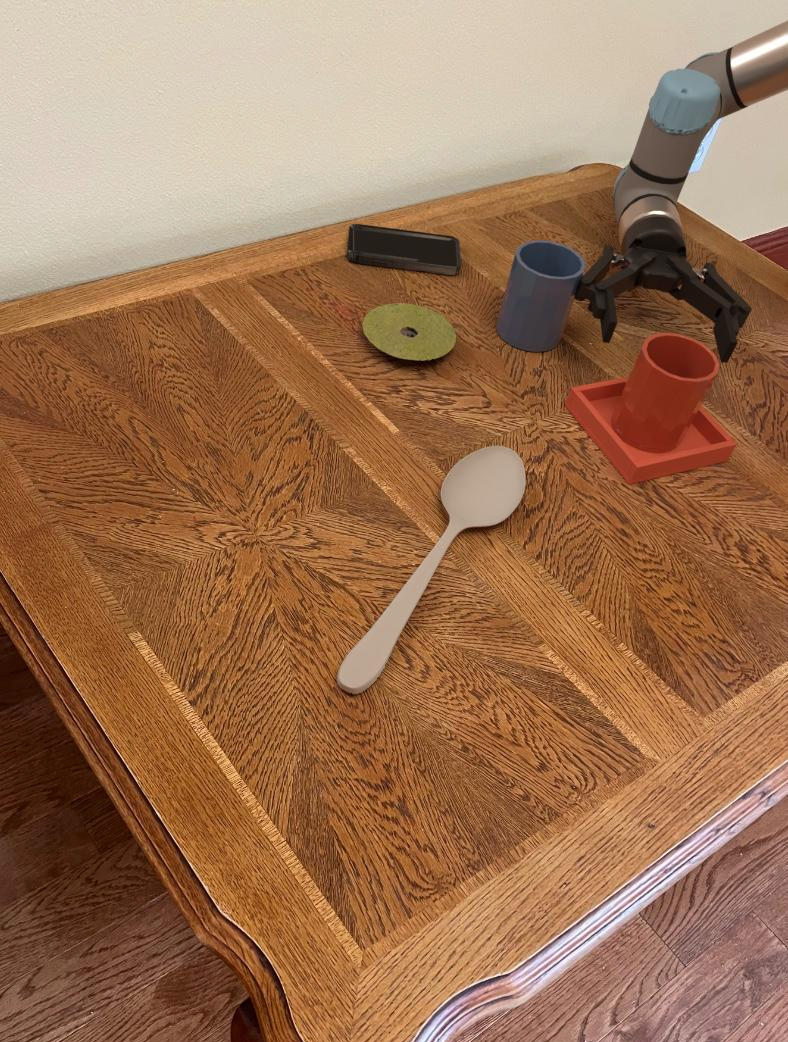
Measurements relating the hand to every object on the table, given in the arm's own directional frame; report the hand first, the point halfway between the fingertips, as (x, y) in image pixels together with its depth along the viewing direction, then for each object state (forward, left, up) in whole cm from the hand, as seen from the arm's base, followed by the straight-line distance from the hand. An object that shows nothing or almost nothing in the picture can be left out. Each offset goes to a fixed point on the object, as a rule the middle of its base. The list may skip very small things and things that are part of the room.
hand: (669, 342), depth 104 cm
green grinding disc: (+17, +23, -9) cm, 30 cm away
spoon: (-16, +36, -9) cm, 40 cm away
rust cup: (-5, +3, -8) cm, 10 cm away
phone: (+35, +15, -8) cm, 39 cm away
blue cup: (+16, +7, -8) cm, 19 cm away
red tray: (-5, +3, -8) cm, 10 cm away
